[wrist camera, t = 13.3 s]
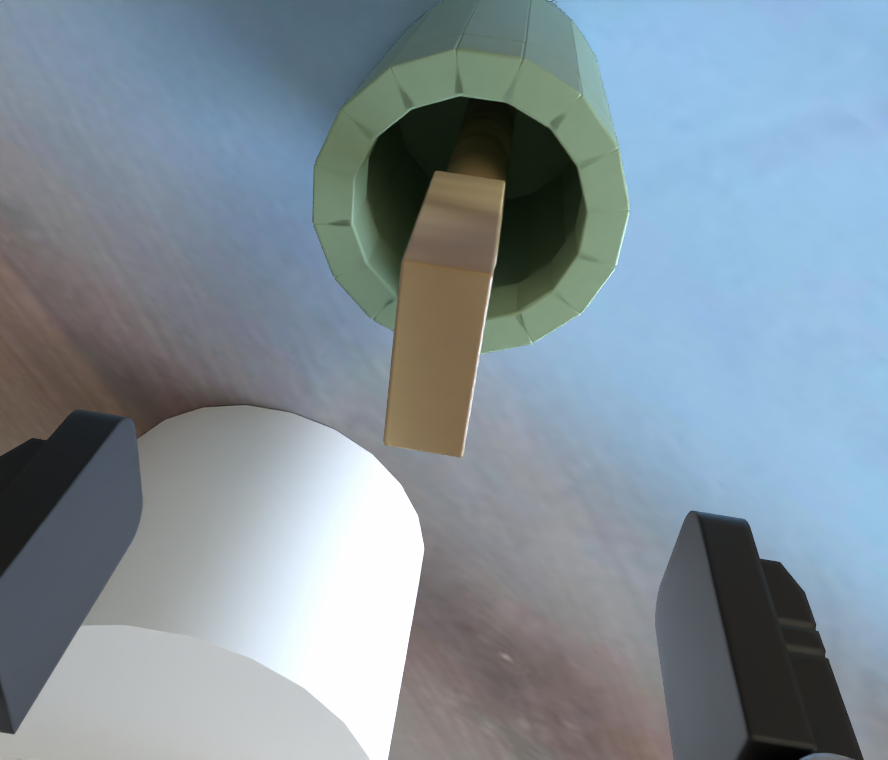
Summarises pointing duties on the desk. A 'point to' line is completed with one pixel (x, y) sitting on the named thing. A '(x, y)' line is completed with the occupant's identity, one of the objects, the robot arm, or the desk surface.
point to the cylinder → (242, 604)
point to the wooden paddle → (449, 287)
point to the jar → (529, 174)
